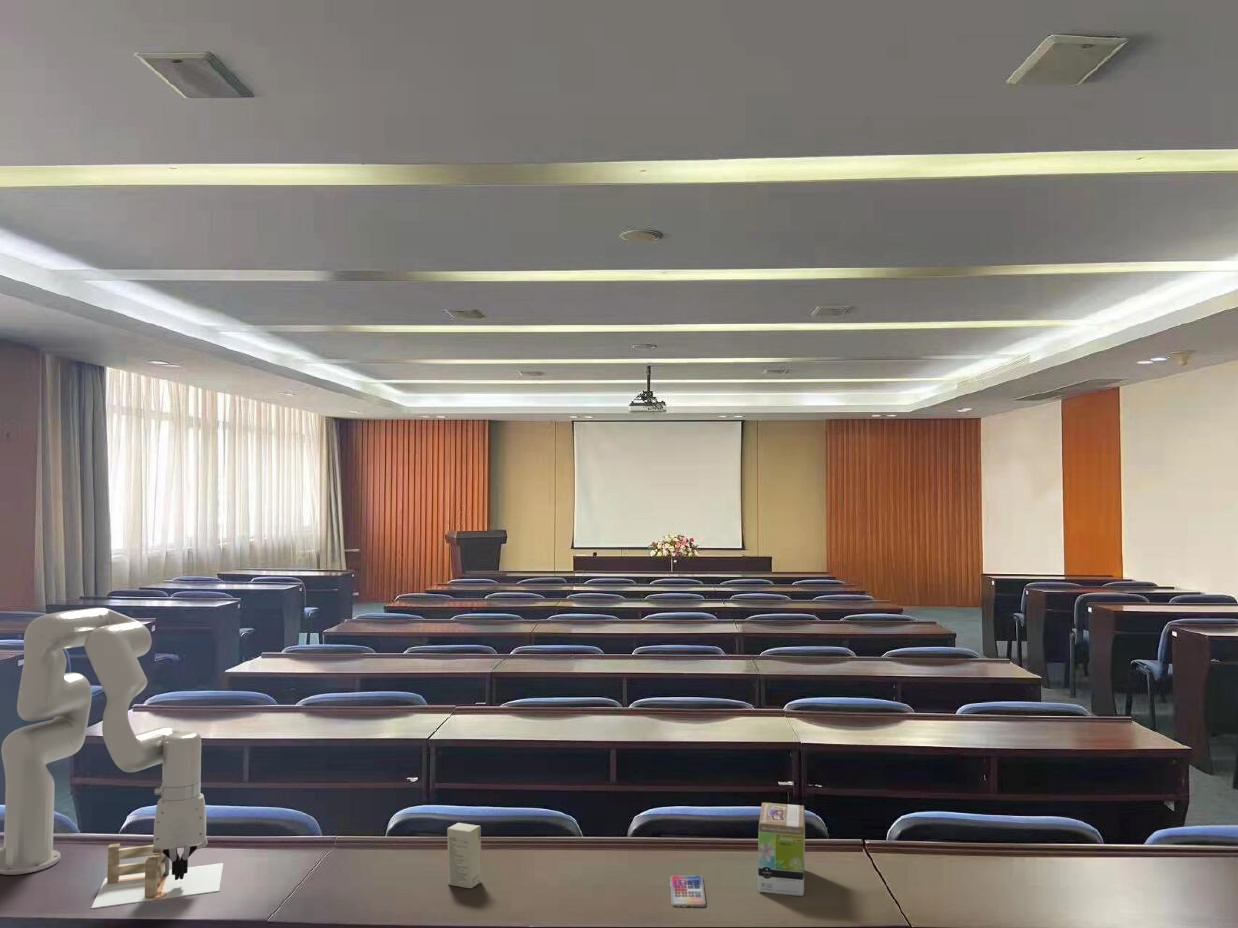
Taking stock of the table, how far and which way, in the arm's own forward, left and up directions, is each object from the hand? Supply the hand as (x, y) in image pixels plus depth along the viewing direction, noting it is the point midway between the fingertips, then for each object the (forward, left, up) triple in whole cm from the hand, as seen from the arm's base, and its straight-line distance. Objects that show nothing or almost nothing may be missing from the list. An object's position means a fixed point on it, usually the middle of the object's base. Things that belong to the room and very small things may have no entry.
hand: (179, 877), depth 196 cm
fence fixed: (-9, +8, -2) cm, 12 cm away
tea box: (+124, -42, -3) cm, 131 cm away
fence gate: (-5, +1, -2) cm, 5 cm away
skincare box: (+58, -19, -3) cm, 61 cm away
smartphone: (+102, -40, -3) cm, 110 cm away
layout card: (-4, +3, -2) cm, 5 cm away
